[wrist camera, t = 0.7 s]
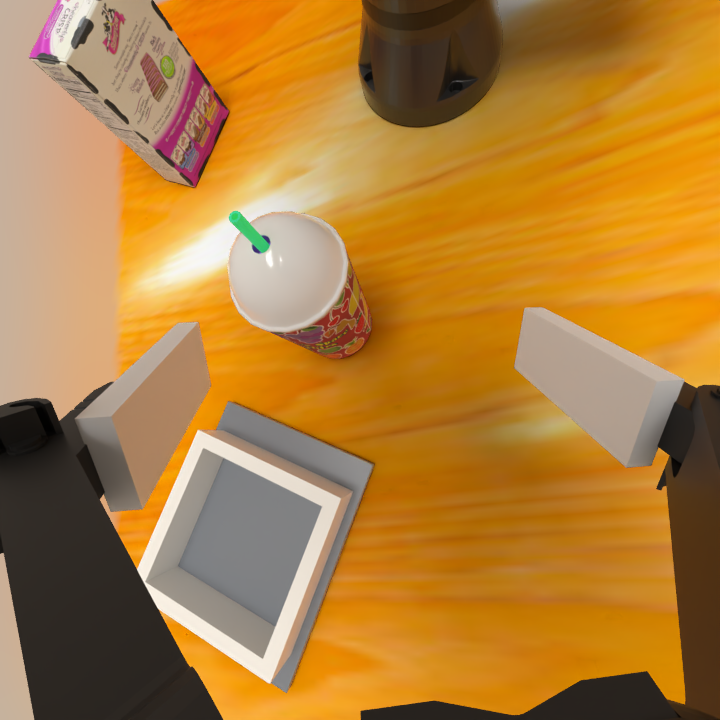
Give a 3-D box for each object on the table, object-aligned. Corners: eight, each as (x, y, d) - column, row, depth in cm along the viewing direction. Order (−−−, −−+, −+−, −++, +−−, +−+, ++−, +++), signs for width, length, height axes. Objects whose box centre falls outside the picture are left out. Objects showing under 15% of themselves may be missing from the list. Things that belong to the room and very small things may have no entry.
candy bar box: (199, 107, 48) (80, -53, 32) (231, 112, 47) (122, -53, 31) (164, 183, 47) (22, 54, 31) (195, 190, 45) (64, 60, 30)
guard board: (233, 402, 39) (203, 397, 34) (374, 464, 34) (363, 468, 29) (151, 593, 36) (107, 616, 32) (291, 685, 32) (264, 729, 27)
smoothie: (298, 367, 38) (148, 295, 19) (307, 289, 39) (177, 150, 20) (379, 371, 36) (304, 296, 17) (385, 289, 37) (323, 135, 18)
